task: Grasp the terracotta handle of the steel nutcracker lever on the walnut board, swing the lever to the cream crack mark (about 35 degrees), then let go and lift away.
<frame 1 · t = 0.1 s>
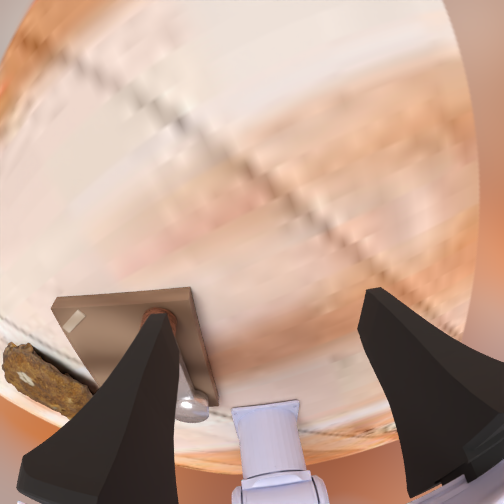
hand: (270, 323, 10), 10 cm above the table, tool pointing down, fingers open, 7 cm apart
decorative rock: (60, 376, 27), on the table
lever: (175, 398, 21), point 5 cm above the table, hinge at 0.0°
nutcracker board: (143, 355, 25), on the table
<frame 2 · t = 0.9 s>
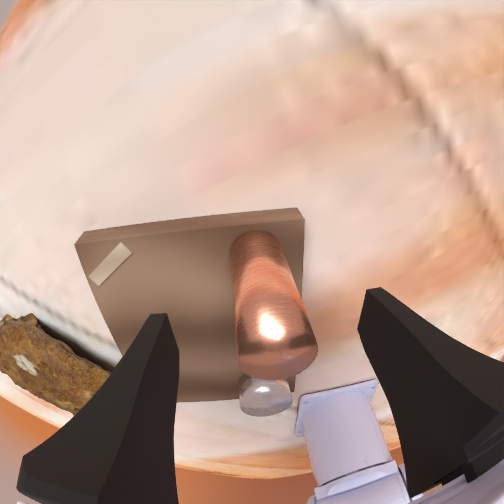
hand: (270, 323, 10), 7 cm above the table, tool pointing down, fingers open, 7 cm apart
decorative rock: (72, 363, 21), on the table
lever: (267, 377, 15), point 5 cm above the table, hinge at 0.0°
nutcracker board: (204, 323, 19), on the table
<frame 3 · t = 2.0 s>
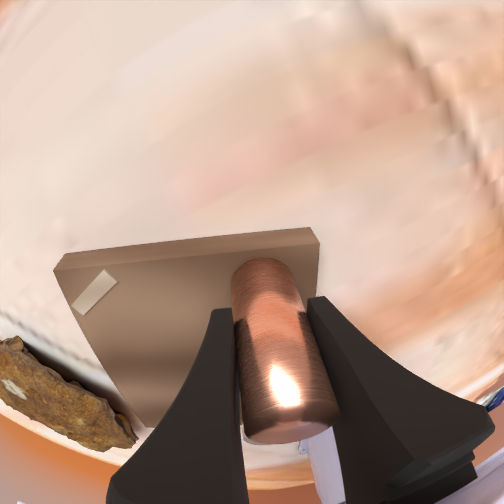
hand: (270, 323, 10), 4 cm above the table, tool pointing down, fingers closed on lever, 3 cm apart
decorative rock: (64, 385, 19), on the table
lever: (274, 417, 13), point 5 cm above the table, hinge at 0.0°, touching gripper
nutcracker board: (202, 351, 17), on the table
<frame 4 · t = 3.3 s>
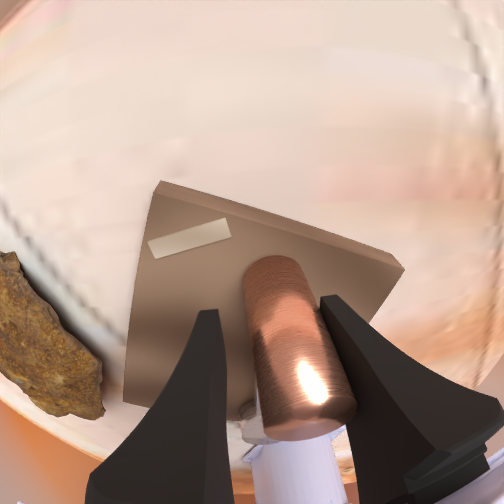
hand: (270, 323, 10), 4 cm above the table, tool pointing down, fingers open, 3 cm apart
decorative rock: (37, 328, 16), on the table
lever: (278, 416, 13), point 5 cm above the table, hinge at 20.8°, touching gripper
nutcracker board: (238, 336, 16), on the table
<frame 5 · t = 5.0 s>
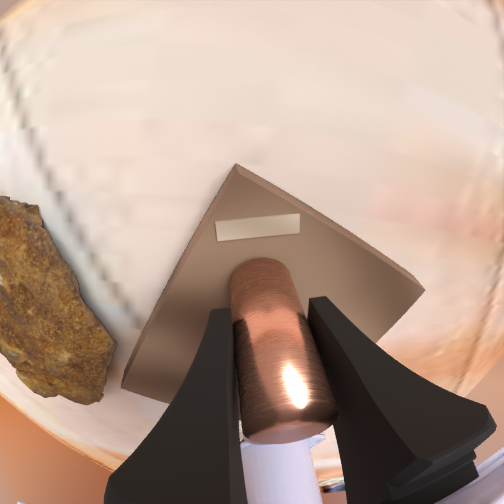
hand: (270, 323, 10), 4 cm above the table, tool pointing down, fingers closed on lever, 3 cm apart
decorative rock: (39, 297, 14), on the table
lever: (274, 417, 13), point 5 cm above the table, hinge at 35.2°, touching gripper
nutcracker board: (260, 333, 16), on the table
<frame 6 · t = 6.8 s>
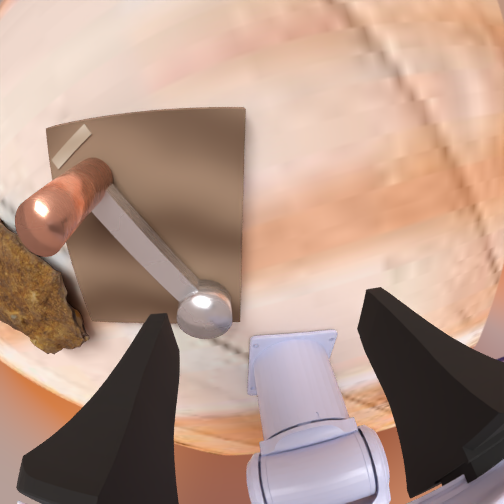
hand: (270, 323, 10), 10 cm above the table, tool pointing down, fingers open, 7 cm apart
decorative rock: (29, 277, 20), on the table
lever: (143, 278, 15), point 5 cm above the table, hinge at 35.2°
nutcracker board: (150, 224, 19), on the table
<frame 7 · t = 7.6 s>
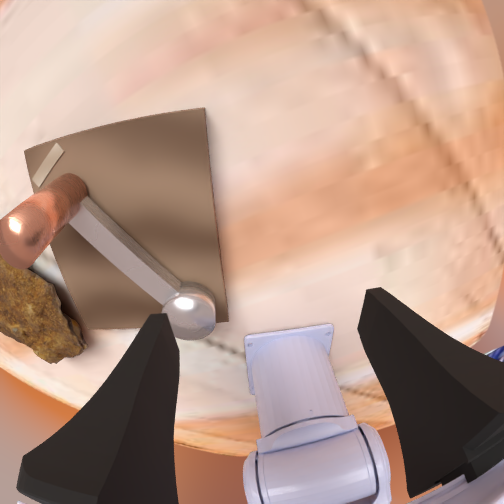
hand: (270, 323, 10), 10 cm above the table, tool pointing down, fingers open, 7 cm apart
decorative rock: (28, 292, 21), on the table
lever: (120, 283, 15), point 5 cm above the table, hinge at 35.2°
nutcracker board: (130, 232, 19), on the table
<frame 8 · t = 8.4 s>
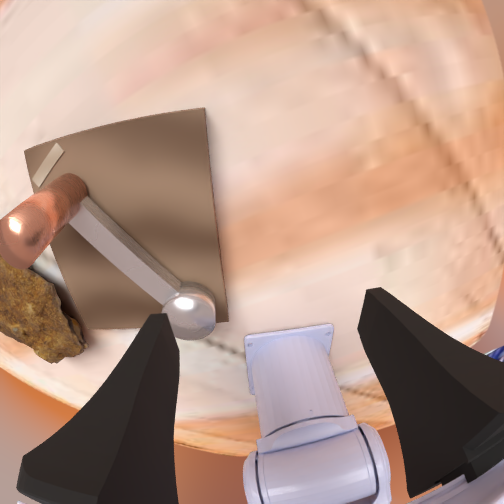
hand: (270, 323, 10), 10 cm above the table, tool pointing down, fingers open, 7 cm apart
decorative rock: (28, 291, 21), on the table
lever: (120, 283, 15), point 5 cm above the table, hinge at 35.2°
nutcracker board: (130, 232, 19), on the table
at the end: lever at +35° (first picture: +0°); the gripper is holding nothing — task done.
